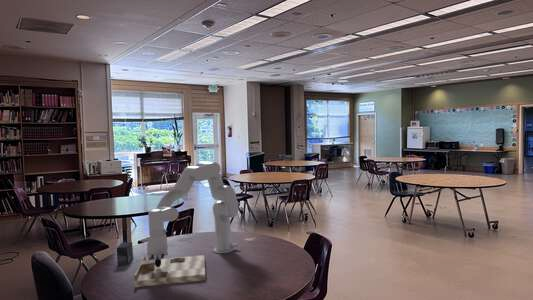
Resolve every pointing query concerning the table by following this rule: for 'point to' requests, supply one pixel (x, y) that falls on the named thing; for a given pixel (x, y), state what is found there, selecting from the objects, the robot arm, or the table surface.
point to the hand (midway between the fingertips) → (158, 266)
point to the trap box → (172, 271)
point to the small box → (124, 253)
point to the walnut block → (147, 265)
